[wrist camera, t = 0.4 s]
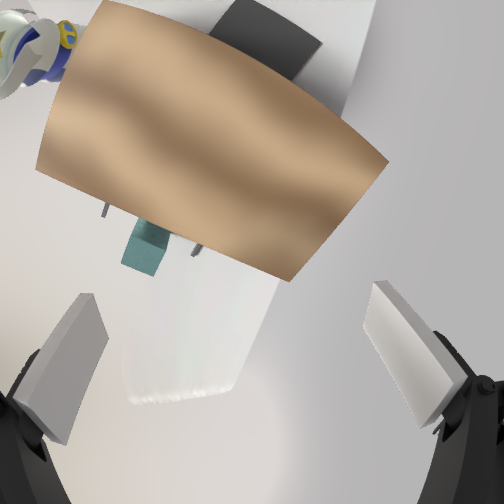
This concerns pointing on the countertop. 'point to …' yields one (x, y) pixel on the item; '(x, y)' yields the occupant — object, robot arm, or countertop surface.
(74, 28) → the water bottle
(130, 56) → the bridge
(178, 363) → the countertop surface
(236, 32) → the dark grey flat block
